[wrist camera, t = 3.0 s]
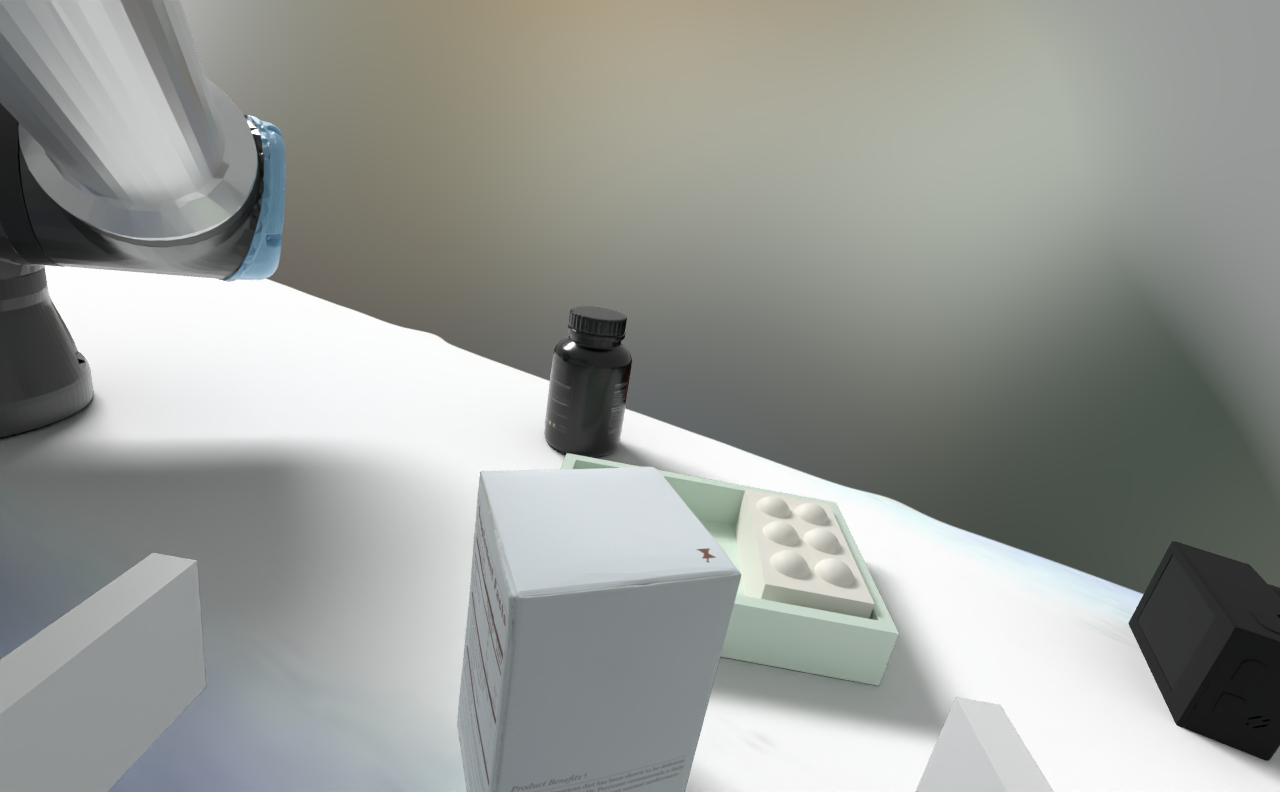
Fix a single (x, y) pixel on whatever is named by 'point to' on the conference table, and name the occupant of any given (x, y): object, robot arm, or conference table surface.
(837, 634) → the pale green tray
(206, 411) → the conference table surface
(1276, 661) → the digital camera
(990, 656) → the conference table surface
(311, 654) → the conference table surface
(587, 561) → the supplement box
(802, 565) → the egg carton
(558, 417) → the supplement bottle
